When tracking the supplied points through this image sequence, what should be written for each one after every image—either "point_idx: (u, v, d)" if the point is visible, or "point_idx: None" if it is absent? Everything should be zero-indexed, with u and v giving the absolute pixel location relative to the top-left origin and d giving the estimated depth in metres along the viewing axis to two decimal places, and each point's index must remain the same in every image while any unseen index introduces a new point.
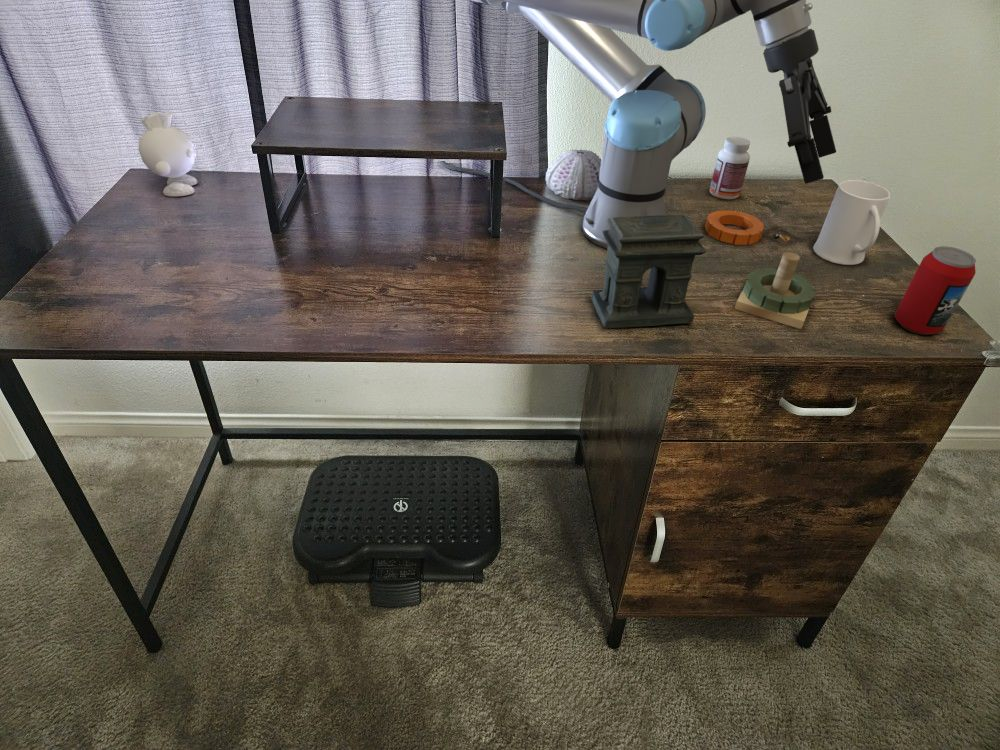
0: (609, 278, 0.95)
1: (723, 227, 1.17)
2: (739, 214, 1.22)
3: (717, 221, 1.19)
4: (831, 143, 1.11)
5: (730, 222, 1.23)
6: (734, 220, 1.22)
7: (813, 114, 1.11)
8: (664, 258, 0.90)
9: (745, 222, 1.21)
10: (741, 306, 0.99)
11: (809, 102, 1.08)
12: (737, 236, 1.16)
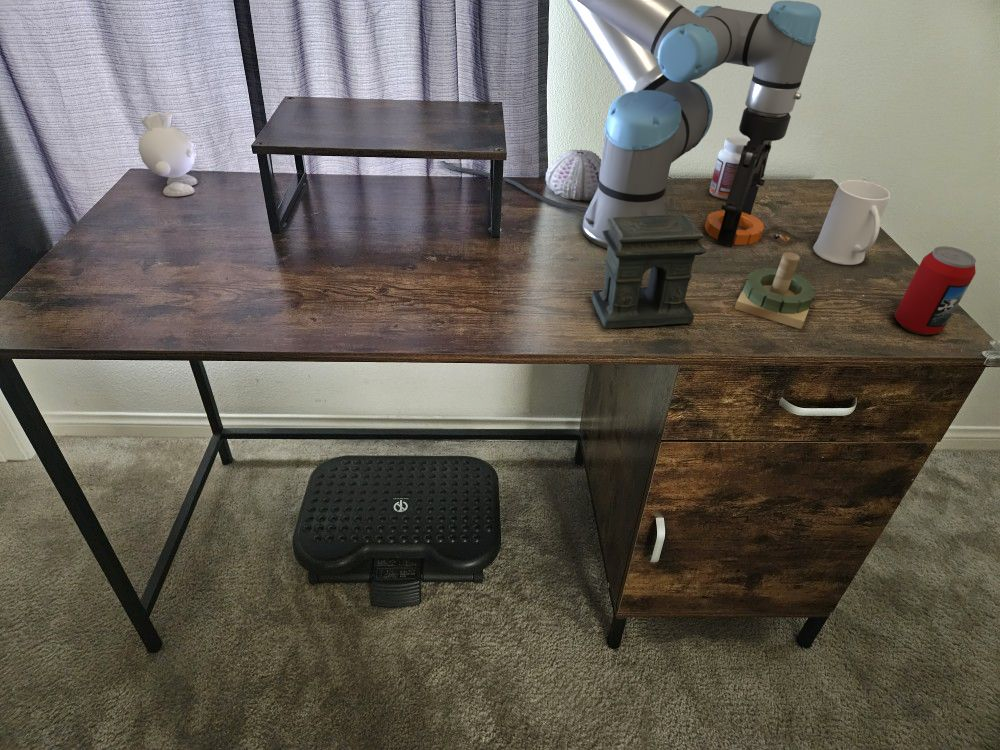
0: (609, 278, 0.95)
1: None
2: None
3: (717, 221, 1.19)
4: (749, 211, 1.23)
5: None
6: None
7: None
8: (664, 258, 0.90)
9: (745, 222, 1.21)
10: (741, 306, 0.99)
11: None
12: (737, 236, 1.16)
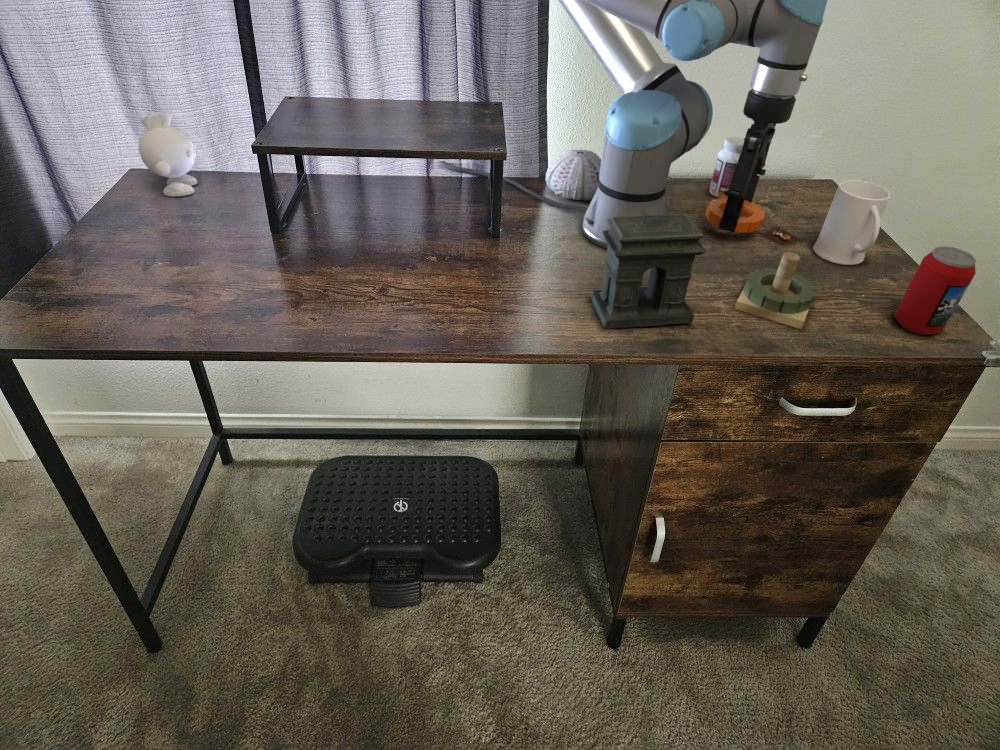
0: (609, 278, 0.95)
1: None
2: None
3: (718, 208, 1.18)
4: (749, 201, 1.21)
5: None
6: None
7: None
8: (664, 258, 0.90)
9: (746, 210, 1.20)
10: (741, 306, 0.99)
11: None
12: (738, 224, 1.14)
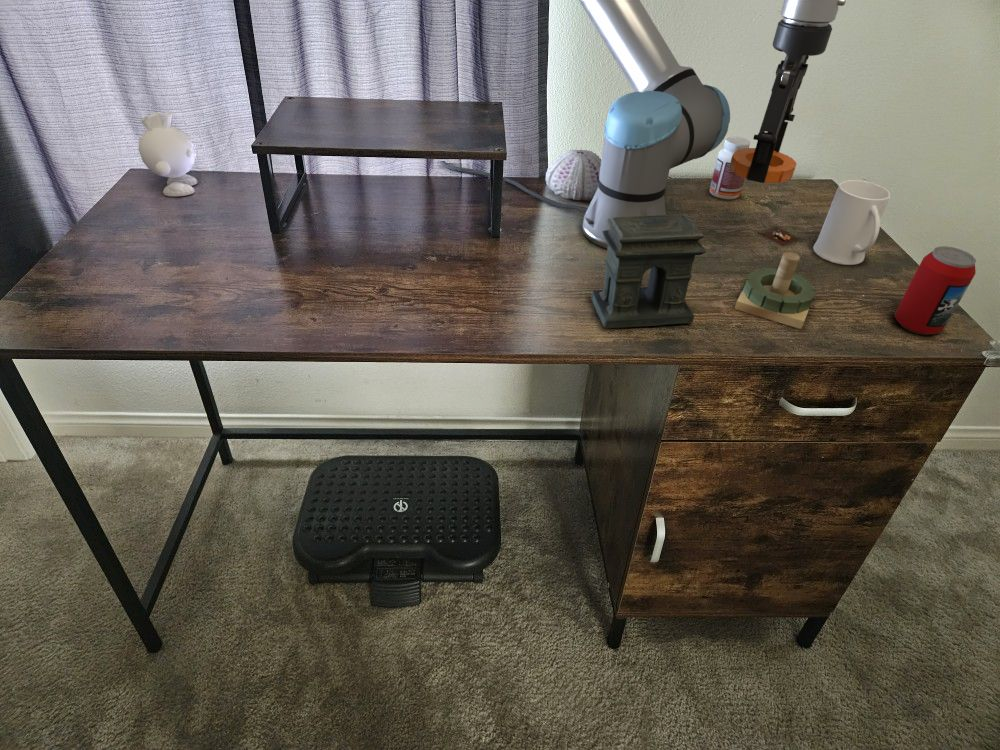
0: (609, 278, 0.95)
1: None
2: None
3: (744, 158, 1.07)
4: None
5: None
6: None
7: None
8: (664, 258, 0.90)
9: (774, 160, 1.09)
10: (741, 306, 0.99)
11: None
12: (768, 173, 1.04)
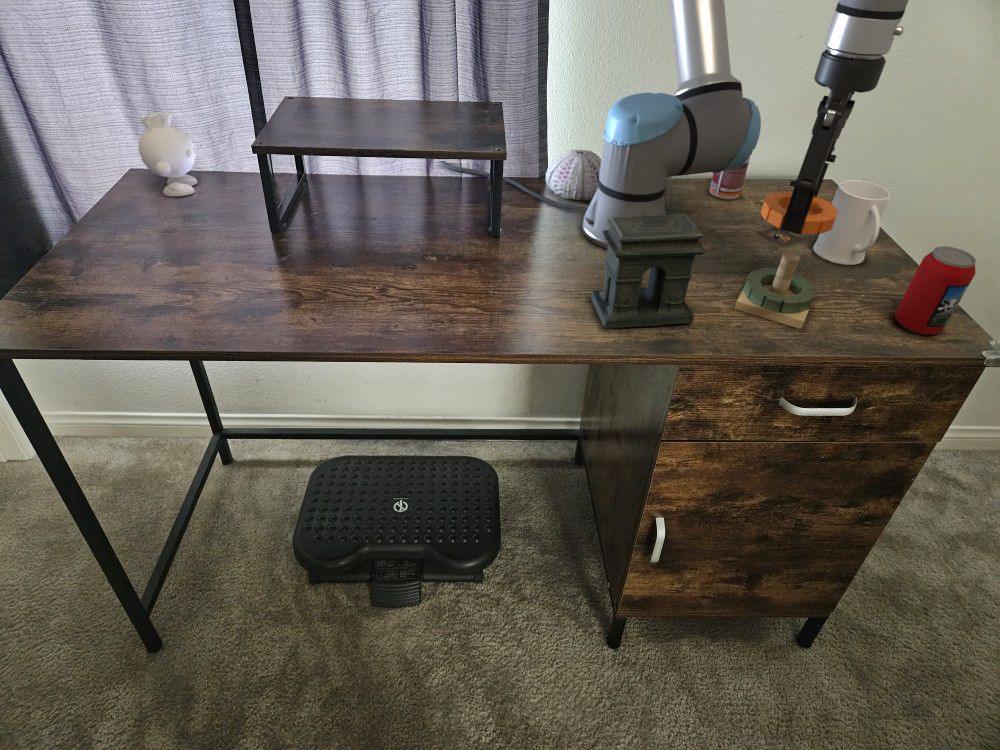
0: (609, 278, 0.95)
1: None
2: None
3: (777, 204, 0.94)
4: (814, 195, 0.97)
5: None
6: None
7: None
8: (664, 258, 0.90)
9: (812, 206, 0.96)
10: (741, 306, 0.99)
11: None
12: (806, 223, 0.90)
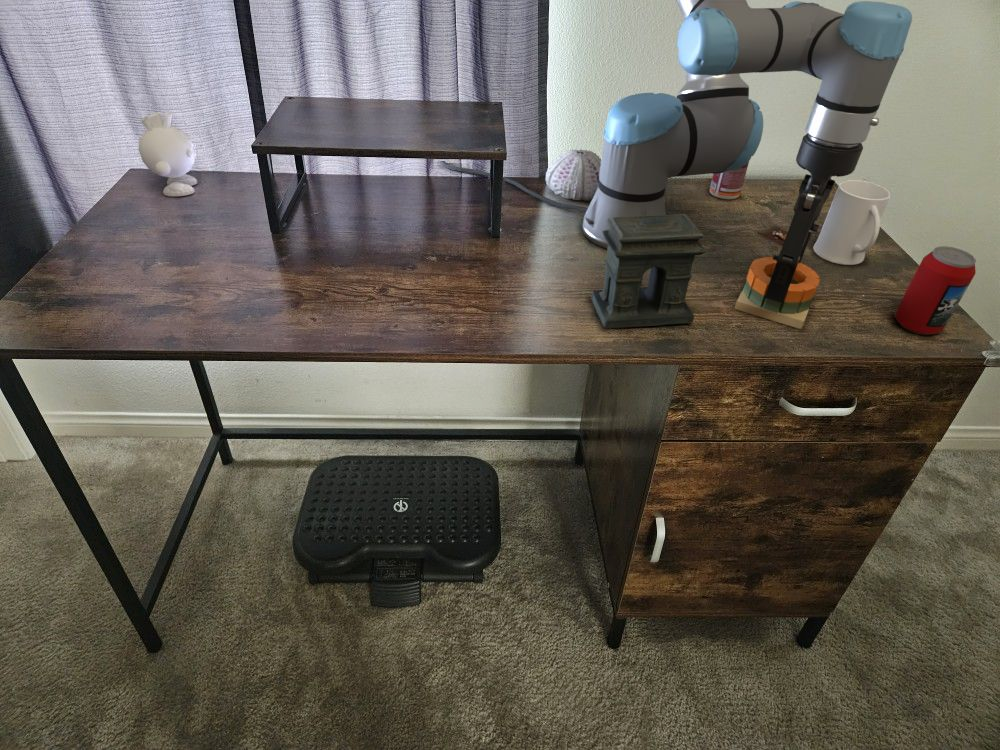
0: (609, 278, 0.95)
1: None
2: None
3: (762, 272, 0.98)
4: None
5: None
6: None
7: None
8: (664, 258, 0.90)
9: (795, 272, 1.00)
10: (741, 306, 0.99)
11: None
12: (788, 292, 0.95)
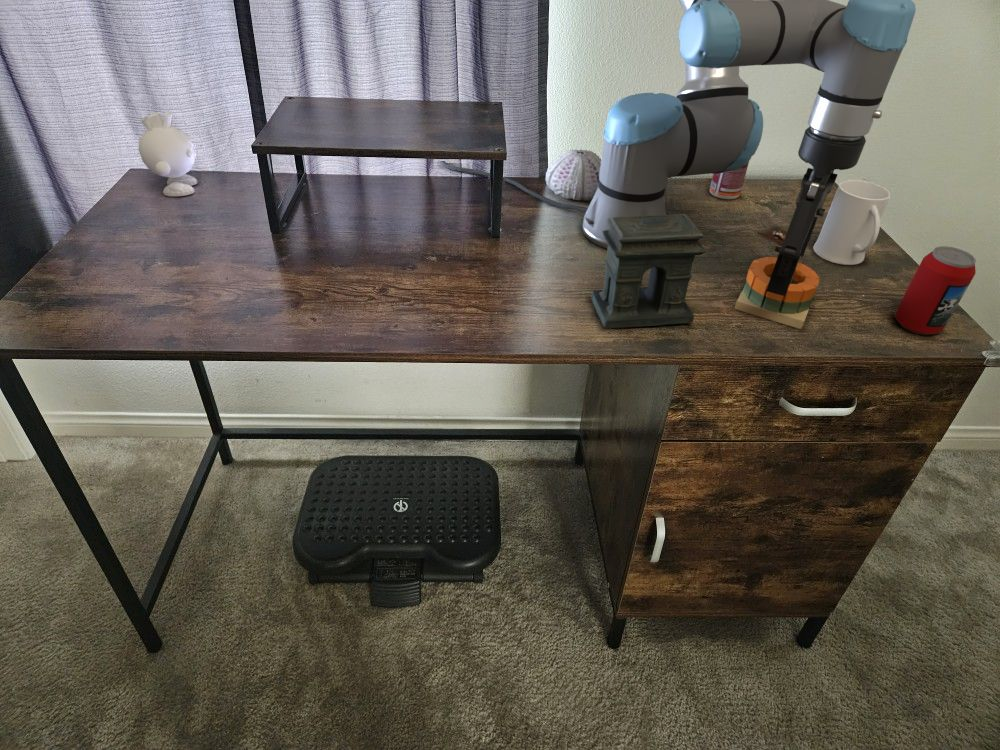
0: (609, 278, 0.95)
1: None
2: None
3: (762, 272, 0.98)
4: (804, 246, 1.01)
5: None
6: None
7: None
8: (664, 258, 0.90)
9: (795, 272, 1.00)
10: (741, 306, 0.99)
11: None
12: (788, 292, 0.95)
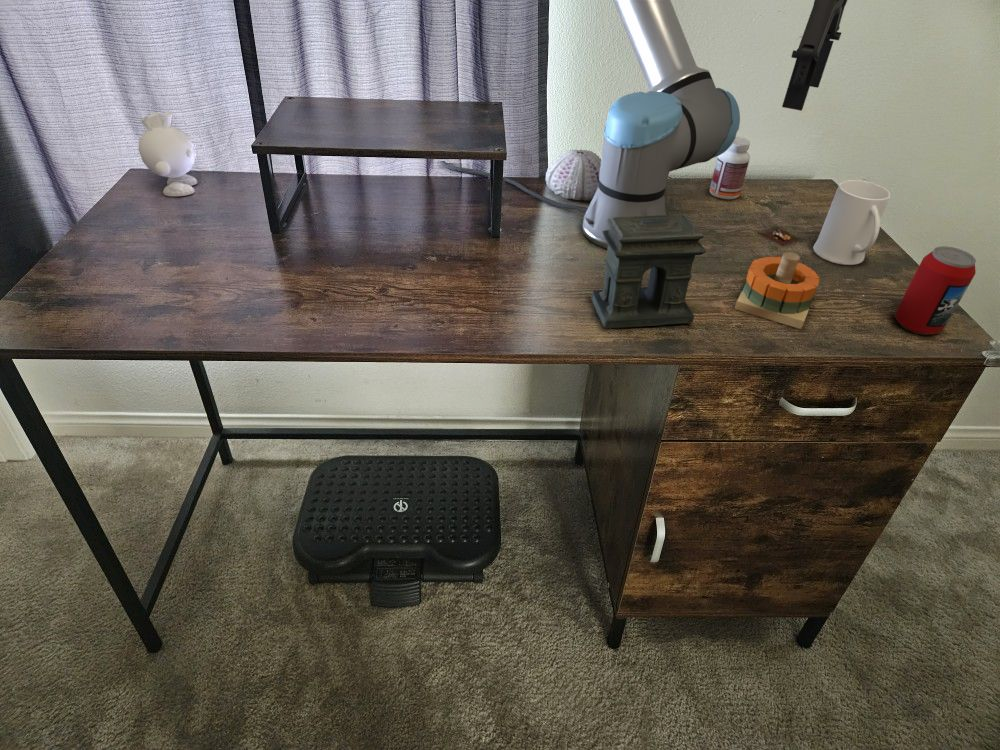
0: (609, 278, 0.95)
1: (770, 280, 0.97)
2: None
3: (762, 272, 0.98)
4: (819, 75, 1.00)
5: (776, 272, 1.02)
6: None
7: None
8: (664, 258, 0.90)
9: (795, 272, 1.00)
10: (741, 306, 0.99)
11: None
12: (788, 292, 0.95)
